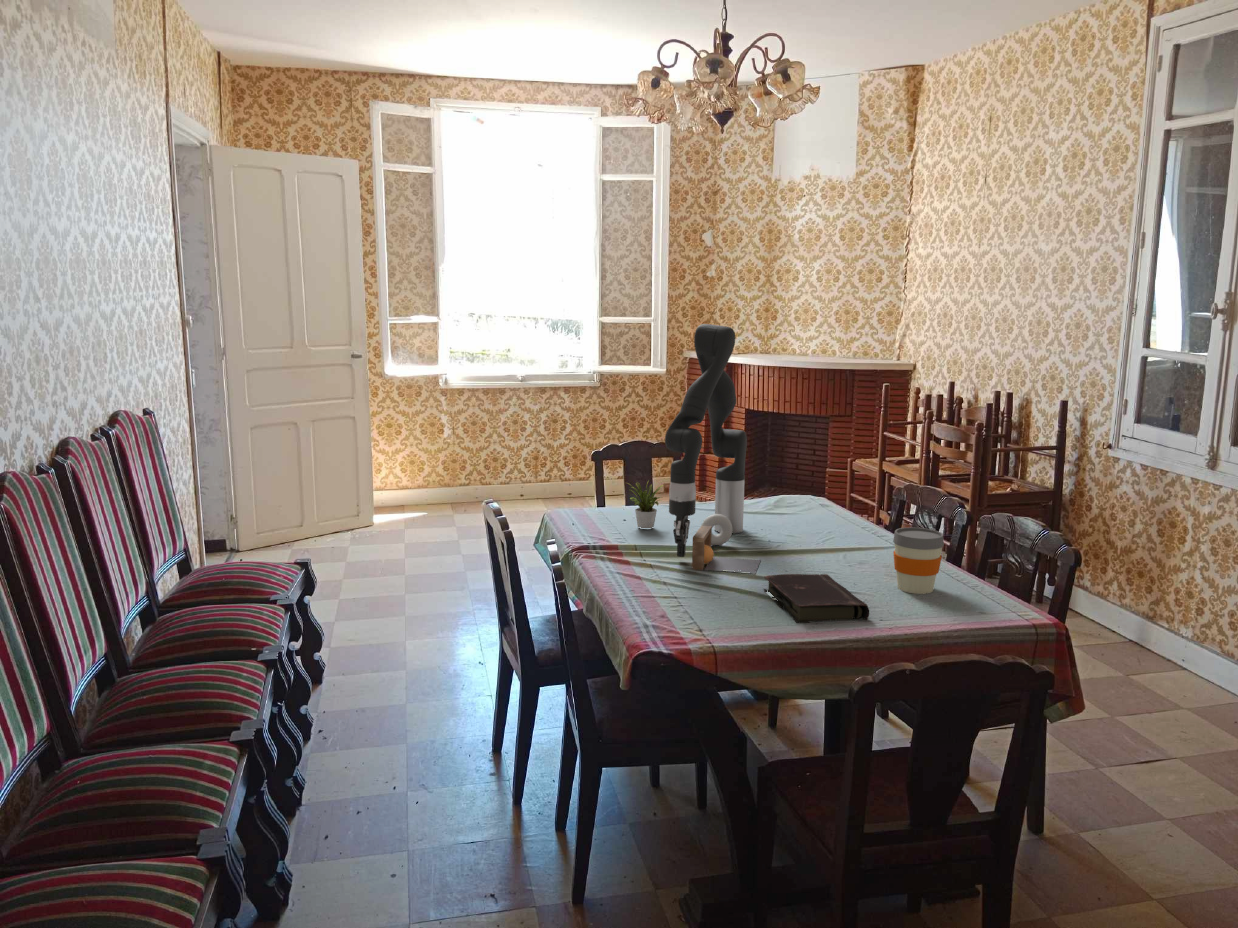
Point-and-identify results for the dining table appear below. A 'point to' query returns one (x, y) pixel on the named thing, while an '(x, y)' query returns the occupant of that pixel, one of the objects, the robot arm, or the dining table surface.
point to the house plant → (645, 506)
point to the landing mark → (733, 564)
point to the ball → (708, 554)
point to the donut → (725, 526)
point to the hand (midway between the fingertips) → (681, 556)
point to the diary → (815, 598)
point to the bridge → (700, 546)
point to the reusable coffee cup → (917, 558)
